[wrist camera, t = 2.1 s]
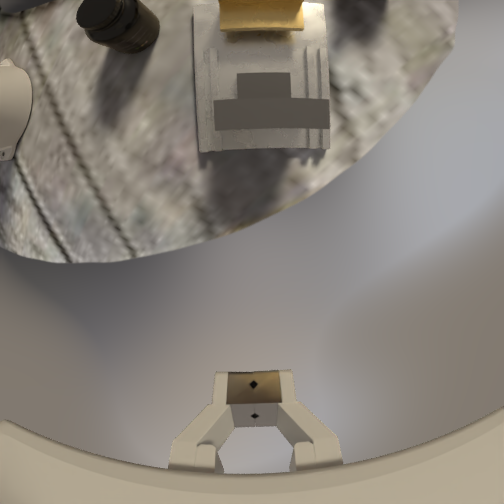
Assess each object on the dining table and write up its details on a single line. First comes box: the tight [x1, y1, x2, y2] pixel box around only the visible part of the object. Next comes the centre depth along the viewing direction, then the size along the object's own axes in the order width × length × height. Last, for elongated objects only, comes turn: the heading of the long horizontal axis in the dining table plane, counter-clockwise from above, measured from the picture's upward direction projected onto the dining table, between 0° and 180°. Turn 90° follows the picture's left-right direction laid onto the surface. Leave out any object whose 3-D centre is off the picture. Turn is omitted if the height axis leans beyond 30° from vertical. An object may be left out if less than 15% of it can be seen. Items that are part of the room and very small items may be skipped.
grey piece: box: [194, 0, 330, 153], centre depth 26 cm, size 16×20×8 cm
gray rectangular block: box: [213, 72, 330, 131], centre depth 25 cm, size 9×6×12 cm
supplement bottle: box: [76, 0, 160, 54], centre depth 21 cm, size 7×7×12 cm
